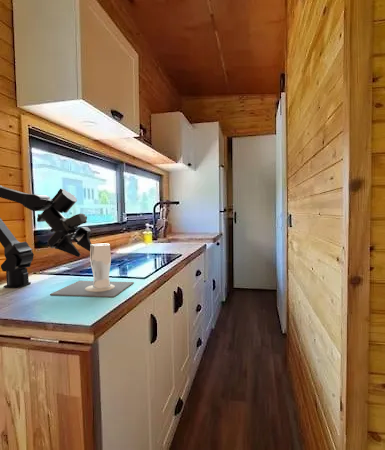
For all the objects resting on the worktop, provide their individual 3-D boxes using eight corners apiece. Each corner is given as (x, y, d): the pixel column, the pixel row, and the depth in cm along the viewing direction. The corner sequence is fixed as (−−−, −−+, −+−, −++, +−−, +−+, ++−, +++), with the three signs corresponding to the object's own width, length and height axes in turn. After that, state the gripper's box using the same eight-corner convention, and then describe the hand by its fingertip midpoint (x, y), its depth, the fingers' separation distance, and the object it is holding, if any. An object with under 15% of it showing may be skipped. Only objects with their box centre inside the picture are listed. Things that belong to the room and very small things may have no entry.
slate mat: (50, 295, 99) (50, 293, 99) (79, 281, 117) (79, 280, 117) (114, 297, 96) (113, 295, 96) (133, 283, 114) (133, 281, 113)
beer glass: (96, 290, 102) (95, 246, 101) (87, 287, 107) (86, 244, 106) (115, 286, 107) (114, 244, 106) (106, 283, 112) (104, 242, 111)
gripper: (54, 205, 97) (87, 240, 96) (85, 206, 115) (113, 235, 114) (33, 230, 99) (65, 264, 98) (67, 226, 117) (94, 255, 116)
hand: (86, 253), depth 106 cm, fingers open, 9 cm apart
